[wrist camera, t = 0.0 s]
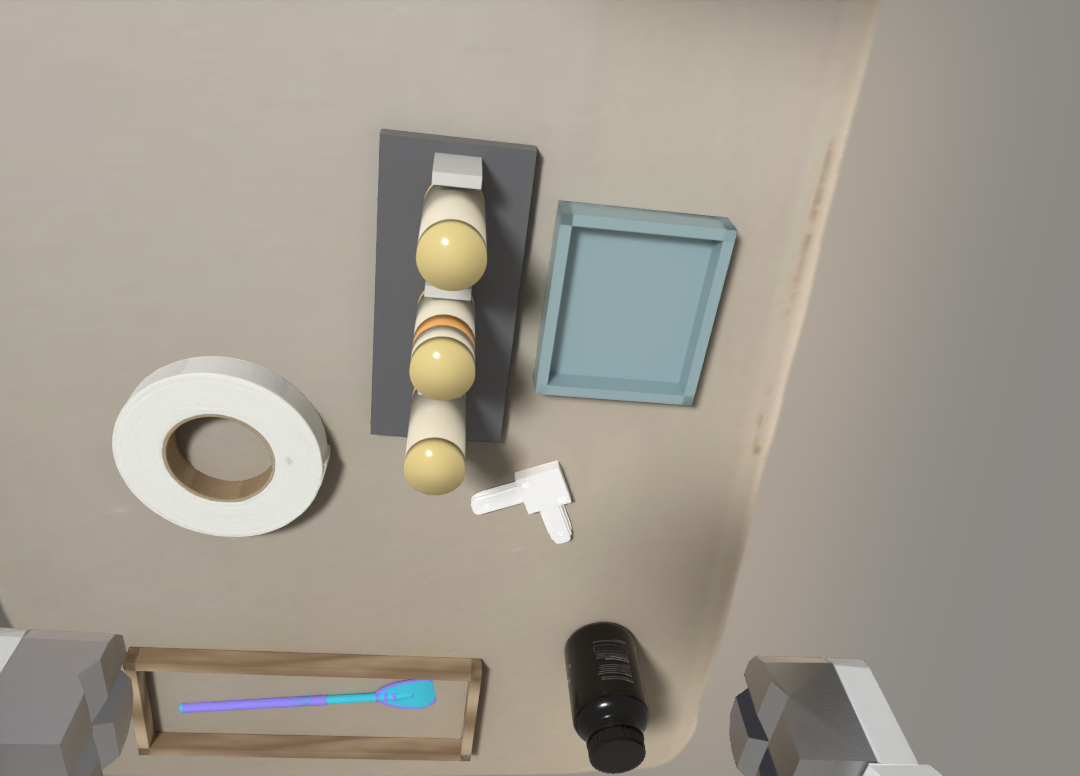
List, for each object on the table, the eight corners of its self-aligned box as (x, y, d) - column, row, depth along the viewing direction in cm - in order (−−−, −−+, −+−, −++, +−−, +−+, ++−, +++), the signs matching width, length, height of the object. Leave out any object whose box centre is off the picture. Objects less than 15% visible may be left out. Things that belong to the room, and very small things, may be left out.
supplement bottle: (548, 648, 81) (559, 761, 70) (599, 608, 78) (618, 719, 68) (598, 678, 83) (616, 791, 73) (649, 641, 81) (674, 752, 71)
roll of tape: (166, 527, 70) (155, 550, 68) (92, 369, 62) (77, 389, 60) (350, 501, 70) (345, 524, 68) (300, 340, 62) (293, 359, 60)
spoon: (439, 673, 82) (439, 683, 81) (441, 701, 84) (440, 711, 83) (174, 682, 80) (170, 692, 79) (182, 710, 82) (178, 721, 81)
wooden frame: (129, 646, 77) (122, 662, 75) (481, 659, 81) (481, 674, 79) (145, 738, 83) (139, 754, 82) (470, 745, 87) (470, 761, 86)
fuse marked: (419, 276, 59) (410, 341, 50) (477, 281, 59) (478, 346, 51) (416, 327, 61) (407, 398, 52) (472, 332, 61) (472, 402, 53)
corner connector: (495, 550, 74) (496, 563, 73) (465, 482, 70) (465, 494, 69) (582, 526, 74) (584, 539, 72) (557, 456, 70) (559, 468, 68)
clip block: (381, 128, 54) (373, 151, 50) (535, 146, 56) (541, 169, 51) (372, 425, 66) (364, 465, 62) (499, 434, 67) (501, 473, 63)
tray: (558, 200, 58) (561, 213, 55) (728, 217, 59) (737, 230, 57) (533, 376, 65) (535, 393, 63) (684, 388, 66) (691, 405, 64)
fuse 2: (413, 369, 62) (405, 444, 54) (468, 373, 63) (467, 448, 55) (411, 415, 64) (402, 493, 56) (463, 418, 65) (462, 496, 57)
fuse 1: (425, 169, 55) (418, 221, 47) (487, 176, 55) (490, 229, 47) (422, 228, 57) (414, 287, 49) (481, 234, 57) (483, 294, 49)
